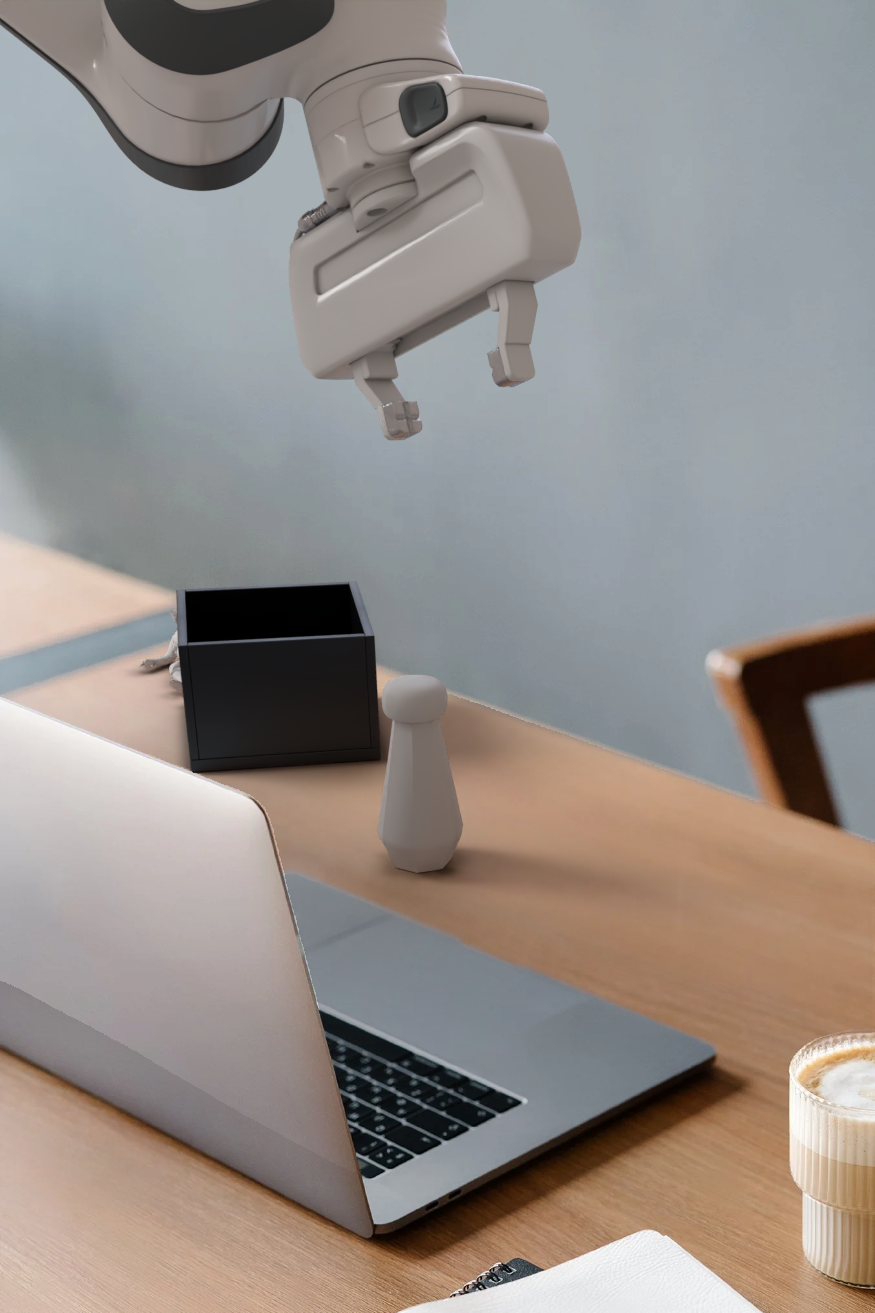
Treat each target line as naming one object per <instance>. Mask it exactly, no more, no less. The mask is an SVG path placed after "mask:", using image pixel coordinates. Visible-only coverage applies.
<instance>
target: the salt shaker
mask: <svg viewBox="0 0 875 1313" xmlns="http://www.w3.org/2000/svg"><path fill="white" fill-rule="evenodd" d="M448 698H449V695H448V691H447V687H446V686H445V685H444V684H443V683H442V681H440V680H439V679H438V678H436V677H433V676H431V675H426V674H404V675H400V676H396V677H394V678H391V679H389V680H388V681H387V682H386V683H385V684H384V685H383V688H382V692H381V707H382V712H383V714H384V715H385V717H387V718H388V719H390V720H392V722H391V728H390V730H391V731H390V738H389V746H388V754H387V760H386V761H387V762H386V768H385V773H384V774H385V775H384V781H383V787H382V795H381V801H380V807H379V814H378V821H377V826H376V827H377V828H376V832H377V836H378V838H379V840H380V841H381V843H382V845H383V847H384V848H385V849H386V852H387V854H388V856H389V858H390V860H391V862H392V864H393V866H394V868H396V869H400V870H404V871H408V872H411V873H414V874H415V873H416V874H420V873H425V872H432V871H439V870H443V869H444V868H445V867H446V866H447V865H448V863H449V862H450V861H451V860H452V859H453V857H454V853H455V851H456V849H457V847H458V844H459V842H460V840H461V836H462V833H463V828H464V822H463V817H462V813H461V809H460V804H459V799H458V795H457V791H456V790H457V789H456V786H455V782H454V778H453V773H452V767H451V763H450V759H449V755H448V750H447V745H446V741H445V737H444V732H443V727H442V723H441V718H442V717H444V716H445V714H446V711H447V708H448V706H449V705H448V703H449V702H448Z"/></svg>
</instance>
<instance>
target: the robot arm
mask: <svg viewBox="0 0 875 1313" xmlns="http://www.w3.org/2000/svg"><path fill="white" fill-rule="evenodd" d="M447 6H448V0H0V27H2V28H3V29H5V30H6V31H7V32H8V33H10V34H11V35H13V37H15V38H16V39H17V40H19V41H20V42H21V43H22V44H23V45H25V46H26V47H27V48H29V49H30V50H31V51H33V52H34V53H35V54H36V55H38V56H39V57H40V58H41V59H43V60H44V61H45V62H47V63H48V64H49V65H50V66H51V67H53V68H54V69H55V70H56V71H57V72H58V73H60V74H61V75H62V76H63V77H64V78H65V79H67V81H69V83H71V85H73V86H74V87H75V89H76V90H77V91H78V92H79V93H80V94H81V95H82V97H83V98H84V99H85V100H86V102H88V104H89V106H90V107H91V108H92V110H93V111H94V113H95V114H96V115H97V117H98V118H99V120H100V122H101V123H102V125H103V126H104V128H105V129H106V131H107V132H108V134H109V135H110V137H111V138H112V140H113V141H114V143H115V144H116V146H117V147H118V148H119V150H120V151H121V152H122V153H123V154H124V156H126V158H127V159H129V161H130V162H131V163H132V164H133V165H134V166H136V167H137V168H138V169H139V170H141V171H142V173H145V174H146V175H147V176H149V177H151V178H153V179H154V180H156V181H158V182H160V183H163V184H165V185H168V186H171V187H172V188H176V189H177V188H178V189H181V190H184V191H185V190H186V191H192V192H211V191H220V190H223V189H228V188H230V187H233V186H235V185H238V184H241V183H243V182H244V181H246V180H247V179H249V178H250V177H252V176H254V174H256V173H257V172H258V171H259V170H261V169H262V167H264V165H265V164H266V163H267V162H268V161H269V160H270V158H271V157H272V156H273V154H274V152H275V150H276V148H277V146H278V144H279V141H280V139H281V137H282V136H281V135H282V132H283V128H284V122H285V98H291V99H294V100H296V101H298V102H299V103H300V104H301V107H302V110H303V114H304V119H305V123H306V127H307V131H308V136H309V140H310V144H311V148H312V152H313V156H314V160H315V164H316V169H317V174H318V177H319V181H320V186H321V190H322V194H323V198H324V200H323V201H322V202H321V204H319V205H318V206H316V207H313V208H309V209H308V210H307V211H305V212H304V213H303V214H302V215H301V216H300V217H299V219H298V220H297V229H296V231H295V233H294V236H293V240H292V242H291V243H290V245H289V260H288V286H289V296H290V304H291V310H292V316H293V325H294V330H295V336H296V341H297V347H298V352H299V356H300V359H301V362H302V365H303V366H304V368H305V369H306V370H307V372H309V373H310V375H311V376H313V377H314V378H315V379H318V380H328V381H329V380H331V381H343V380H344V381H347V380H348V381H349V380H354V383H355V386H356V387H357V388H358V390H359V391H360V392H361V394H362V395H363V396H364V397H365V398H366V400H367V401H368V402H369V403H370V405H371V406H372V407H373V409H375V410H376V411H377V415H378V420H379V423H380V428H381V433H382V435H383V437H384V438H385V439H386V440H387V441H405V440H407V439H410V438H411V437H413V436H415V435H417V434H419V433H420V432H421V431H423V421H422V419H421V418H420V417H419V416H420V410H419V404H418V401H416V400H407V401H406V399H405V397H403V395H402V393H401V391H400V390H399V389H398V387H397V385H396V384H395V383H394V381H393V380H396V379H398V378H399V371H398V367H397V362H396V359H398V358H399V357H401V356H403V355H405V354H407V353H409V352H411V351H412V350H414V349H416V348H418V347H420V346H422V345H423V344H426V343H427V342H429V341H431V340H433V339H435V338H437V337H438V336H440V335H442V334H445V333H446V332H448V331H450V330H453V329H455V328H456V327H458V326H459V325H461V324H463V323H465V322H467V321H469V320H471V319H473V318H475V317H476V316H478V315H481V314H482V313H484V312H485V311H488V310H490V311H492V312H495V313H498V322H497V323H498V324H497V336H496V348H494V349H493V350H490V351H489V352H487V353H486V355H487V359H488V363H489V368H491V369H492V372H491V377H492V380H493V382H494V384H495V385H496V386H497V387H499V388H506V387H509V388H514V387H517V386H519V385H521V384H524V383H525V382H529V381H530V380H532V379H533V378H535V376H536V369H535V364H534V360H533V355H532V351H531V347H530V345H531V344H532V339H533V333H534V328H535V323H536V322H535V321H536V317H537V312H538V307H539V304H538V299H537V295H536V291H535V285H536V284H538V283H540V282H543V281H544V280H545V279H548V278H550V277H552V276H554V275H555V274H557V273H559V272H561V271H564V270H565V269H567V268H569V267H571V266H572V265H573V264H574V263H575V262H576V260H577V257H578V252H579V248H580V244H581V240H582V227H581V220H580V216H579V211H578V207H577V203H576V202H577V201H576V197H575V195H574V190H573V186H572V183H571V179H570V175H569V172H568V168H567V165H566V162H565V160H564V156H563V154H562V151H561V149H560V147H559V145H558V143H557V142H556V140H555V139H554V138H553V136H551V135H550V134H549V133H547V132H545V131H546V129H547V128H548V126H549V123H550V110H549V105H548V100H547V97H546V94H545V93H544V91H543V90H542V89H540V88H537V87H535V86H531V85H527V84H524V83H519V82H515V81H511V80H506V79H501V78H496V77H490V76H482V75H473V74H465V72H464V69H463V66H462V64H461V62H460V60H459V58H458V56H457V54H456V52H455V50H454V49H453V47H452V43H451V42H450V39H449V34H448V30H447V9H448V8H447Z"/></svg>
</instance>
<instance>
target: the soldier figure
mask: <svg viewBox="0 0 875 1313" xmlns="http://www.w3.org/2000/svg"><path fill="white" fill-rule="evenodd" d="M168 612H169V615H170V616H171V618H172V620H173V621H174V622H175V624H176V625H177V608H174V609H169V610H168ZM173 632H174V634H173V635H172V636H171V640H170V642H169V645H168V648H167V651H166V653H165V655H162V656H160V657H154V658H146V659H144V660H142V661H141V662H140V664H139V667H138V668H141V667H145V671H148V669H149V668H150V667H152V668H158V667H160V666H167V665H169V667H168V672H169V674H170V678H171V680H170V681H169V685H170V687H171V688H172V689H173V690H175V691H179V692H183V690H182V681H181V671H180V662H179V660H176V659H179V653H178V634H177V627H175V629H174V630H173ZM175 660H176V661H175Z"/></svg>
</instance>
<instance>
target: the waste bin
mask: <svg viewBox="0 0 875 1313" xmlns="http://www.w3.org/2000/svg"><path fill="white" fill-rule="evenodd" d="M175 595H176V596H175V597H176V598H175V599H176V609H177V624H176V628H177V634H178V653H179V658H178V661H179V662H180V671H181V681H182V690H183V691H182V699H183V708H184V718H185V726H186V735H187V736H186V737H187V746H188V755H189V764H190V772H191V771H194V772H193V773H203V772H216V771H229V770H231V771H232V770H244V769H259V768H271V767H273V768H276V767H288V766H305V765H319V764H334V763H347V762H348V763H349V762H351V763H352V762H365V761H378V760H379V761H380V760H382V753H381V752H382V748H381V732H380V730H381V729H380V714H379V695H378V693H379V692H378V675H377V656H376V636H375V632H374V630H373V627H372V624H371V621H370V618H369V614H368V611H367V609H366V606H365V603H364V600H363V597H362V594H361V591H360V588H359V584H358V581H356V580H353V581H333V582H332V581H331V582H312V583H311V582H310V583H309V582H308V583H288V584H268V585H267V584H265V585H264V584H263V585H243V586H221V587H203V588H202V587H201V588H199V587H198V588H186V589H185V588H182V589H179V588H178V589H175Z"/></svg>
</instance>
